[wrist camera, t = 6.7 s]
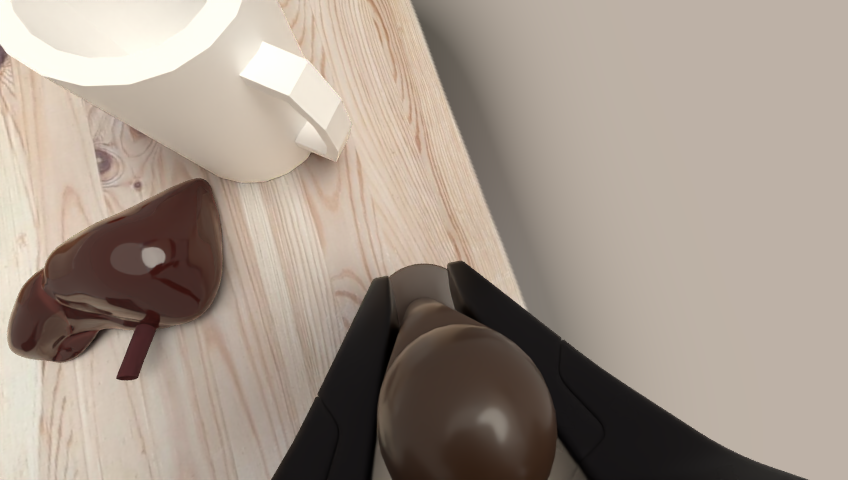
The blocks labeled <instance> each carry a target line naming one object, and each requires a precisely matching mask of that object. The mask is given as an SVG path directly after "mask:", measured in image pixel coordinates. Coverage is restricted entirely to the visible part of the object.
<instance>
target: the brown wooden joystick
mask: <svg viewBox="0 0 848 480" xmlns="http://www.w3.org/2000/svg"><path fill="white" fill-rule="evenodd" d="M389 278H390V281H391V285H392V289H393V293H394V297H395V302H396V307H397V313H398V319H399V326H400V330H399V333H398V336H397V339H396V342H395V346H394V349H393V352H392V355H391V358H390V361H389V364H388V367H387V370H386V373H385V377H384V380H383V383H382V386H381V389H380V393H379V398H378V405H377V436H378V441H379V446H380V452H381V454H382V457H383V460H384V462H385V465H386V467H387V470H388V472H389V474H390V476H391V478H392V480H548V478H549V476H550V472H551V469H552V465H553V462H554V458H555V453H556V443H557V421H556V412H555V409H554V405H553V401H552V398H551V394H550V392H549V389H548V387H547V385H546V383H545V380H544V378H543V376H542V374H541V372H540V371H539V369H538V368H537V367H536V365H535V364H534V362H533V361H532V360H531V358H530V357H529V356H528V355H527V354H526V353H525V352H524V351H523V350H522V349H521V348H520V347H519V346H518V345H517V344H515V343H514V342H513V341H511V340H510V339H509V338H507V337H506V336H504V335H502V334H501V333H499V332H497V331H495V330H493V329H491V328H489V327H487V326H485V325H483V324H481V323H479V322H477V321H475V320H473V319H471V318H469V317H467V316H465V315H463V314H462V313H460V312H458V311H456V310H455V308H454V304H453V300H452V297H451V293H450V288H449V280H448V270H447V269H446V268H443V267H441V266H437V265H433V264H414V265H411V266H407V267H405V268H402V269H400V270H398V271H397V272H395V273H394V274H392V275H391V276H390V277H389Z"/></svg>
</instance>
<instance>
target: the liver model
mask: <svg viewBox="0 0 848 480" xmlns="http://www.w3.org/2000/svg"><path fill="white" fill-rule="evenodd" d="M222 267H223V259H222V234H221V224H220V218H219V214H218V210H217V206H216V203H215V200H214V197H213V193H212V189H211V187H210V185H209V183H208V182H207V181H206V180H204V179H202V178H196V179H191V180H188V181H185V182H183V183H180V184H178V185H176V186H173V187H171V188H169V189H167V190H165V191H163V192H161V193H159V194H157V195H155V196H153V197H151V198H149V199H147V200H145V201H143V202H141V203H139V204H137V205H135V206H133V207H131V208H129V209H126V210H124V211H122V212H120V213H118V214H115V215H113V216H110V217H108V218H106V219H103V220H101V221H99V222H97V223H95V224H93V225H91V226H89V227H88V228H86V229H84V230H82V231H81V232H79V233H77V234H76V235H74V236H73V237H71V238H69V239H68V240H66V241H65V242H63V243H62V244H61V245H59V246H58V247H57V248H56V249H55V250H54V251H53V252H52V253H51V254H50V255H49V257H48V259H47V260H46V263H45V266H44V268H42V269H41V270H39V271H38V272H36V273H35V274H34V275H33V276H32V277H31V278H30V279H29V280H28V281H27V282H26V283H25V284H24V285H23V287H22V288H21V290H20V292H19V294H18V296H17V299H16V301H15V304H14V307H13V309H12V312H11V316H10V319H9V324H8V330H7V341H8V345H9V348H10V349H11V351H12V352H14V353H15V354H17V355H19V356H21V357H24V358H28V359H34V360H46V361H53V362H59V363H61V362H67V361H70V360H72V359H74V358H76V357H77V356H79V355H80V354H81V353H82V352H83V351H84V350H85V349H86V348H87V347H88V346H89V345H90V343H91V342H92V341H93V339H94V338H95V337H96V335H97V333H98V332H99V331H100V330H102V329H107V328H114V329H123V330H135V331H134V334H133V336H132V339H131V341H130V344H129V346H128V349H127V352H126V354H125V357H124V359H123V362H122V364H121V367H120V369H119V372H118V375H117V377H116V379H118V380H134V379H137V378H138V376H139V373H140V370H141V368H142V365H143V362H144V359H145V357H146V354H147V351H148V349H149V347H150V344H151V342H152V340H153V337H154V335H155V332H156V329H160V328H167V327H171V326H175V325H179V324H184V323H188V322H191V321H193V320H195V319H196V318H198V317H199V316H201V315H202V314H203V313H204V312H205V311H206V310H207V309H208V308H209V307H210V305H211V304H212V302H213V300H214V298H215V296H216V294H217V291H218V289H219V285H220V281H221V276H222Z"/></svg>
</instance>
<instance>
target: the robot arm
mask: <svg viewBox="0 0 848 480" xmlns="http://www.w3.org/2000/svg"><path fill="white" fill-rule="evenodd" d="M447 270H448V280H449V288H450V293H451V297H452V300H453V304H454V308H455V310H456V311H458V312H460V313H462V314H463V315H465V316H467V317H469V318H471V319H473V320H475V321H477V322H479V323H481V324H483V325H485V326H487V327H489V328H491V329H493V330H495V331H497V332H499V333H501V334H502V335H504V336H506V337H507V338H509V339H510V340H511V341H513V342H514V343H515V344H517V345H518V346H519V347H520V348H521V349H522V350H523V351H524V352H525V353H526V354H527V355H528V356H529V357H530V358H531V360H532V361H533V362H534V364H535V365H536V367H537V368H538V369H539V371H540V372H541V374H542V376H543V378H544V380H545V383H546V385H547V387H548V389H549V392H550V394H551V398H552V401H553V405H554V409H555V412H556V421H557V443H556V453H555V458H554V462H553V465H552V469H551V472H550V476H549V478H548V480H808V479H805V478H801V477H799V476H796V475H793V474H790V473H787V472H784V471H781V470H778V469H775V468H773V467H769V466H767V465H764V464H761V463H759V462H756V461H754V460H751V459H749V458H747V457H744V456H742V455H740V454H738V453H736V452H734V451H732V450H730V449H727V448H725V447H724V446H722V445H720V444H718V443H716V442H715V441H713V440H711V439H709V438H708V437H706V436H705V435H703V434H701V433H700V432H698V431H696V430H695V429H693V428H692V427H690V426H689V425H687V424H686V423H684V422H683V421H681V420H679V419H678V418H676V417H675V416H673V415H672V414H670V413H668V412H667V411H666V410H664V409H663V408H661V407H659V406H658V405H656V404H655V403H653V402H652V401H650V400H649V399H647V398H646V397H644V396H642V395H641V394H639V393H638V392H636V391H635V390H633V389H632V388H630V387H628V386H627V385H626V384H624V383H622V382H621V381H620V380H618V379H617V378H615V377H614V376H612V375H611V374H609V373H608V372H606V371H605V370H603V369H602V368H600V367H599V366H598V365H596V364H595V363H594V362H592V361H591V360H590V359H588V358H587V357H586V356H584V355H583V354H582V353H580V352H579V351H578V350H576V349H575V348H574V347H572V346H571V345H570V344H569V343H567V342H566V341H565V340H562V341H561V337H560V336H558V335H557V334H556V333H554V332H553V331H552V330H550V329H549V328H548V327H547V326H545V325H544V324H543V323H542V322H540V321H539V320H538V319H536V318H535V317H534V316H532V315H531V314H530V313H529V312H527V311H526V310H525V309H524V308H522V307H521V306H520V305H519V304H517V303H516V302H515V301H513V300H512V299H511V298H510V297H508V296H507V295H506V294H504V293H503V292H502V291H501V290H499V289H498V288H497V287H495V286H494V285H493V284H492V283H490V282H489V281H488V280H487V279H485V278H484V277H483V276H481V275H480V274H479V273H478V272H476V271H475V270H474V269H472V268H471V267H470V266H469V265H467V264H466V263H465V262H463V261H456V262H451V263H448V265H447ZM399 330H400V326H399V319H398V313H397V307H396V302H395V297H394V293H393V289H392V285H391V281H390V278H389V277H388V276H384V277H379V278H375V279H373V281H372V283H371V285H370V287H369V289H368V291H367V293H366V295H365V297H364V299H363V301H362V303H361V305H360V308H359V310H358V312H357V314H356V316H355V318H354V320H353V322H352V324H351V326H350V328H349V330H348V332H347V334H346V336H345V338H344V340H343V342H342V345H341V347H340V349H339V351H338V353H337V355H336V357H335V359H334V361H333V363H332V365H331V367H330V369H329V371H328V373H327V375H326V377H325V379H324V382H323V384H322V386H321V388H320V390H319V392H318V396H319V397H316V398H315V400H314V402H313V404H312V406H311V408H310V410H309V412H308V414H307V416H306V418H305V420H304V422H303V424H302V426H301V428H300V430H299V432H298V433H297V435H296V437H295V439H294V441H293V443H292V445H291V446H290V448H289V450H288V452H287V453H286V455H285V457H284V458H283V460H282V462H281V464H280V465H279V467H278V469H277V470H276V472H275V474H274V475H273V477H272V479H271V480H392V478H391V476H390V474H389V472H388V470H387V467H386V465H385V462H384V460H383V457H382V454H381V452H380V446H379V441H378V436H377V405H378V398H379V393H380V389H381V386H382V383H383V380H384V377H385V373H386V370H387V367H388V364H389V361H390V358H391V355H392V352H393V349H394V346H395V342H396V339H397V336H398V333H399Z"/></svg>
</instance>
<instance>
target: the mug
mask: <svg viewBox="0 0 848 480" xmlns="http://www.w3.org/2000/svg"><path fill="white" fill-rule="evenodd" d="M0 44H1V46H2V47H3V48H4V50H5V51H6V53H7V54H9V55H10V56H12V57H13V58H15V59H17V60H18V61H20V62H21V63H23V64H24V65H26V66H28V67H29V68H31V69H32V70H34V71H35V72H37V73H38V74H40V75H42V76H43V77H45V78H47V79H49V80H50V81H52V82H54V83H56V84H57V85H59V86H61V87H63V88H64V89H66V90H68V91H70V92H71V93H73V94H75V95H77V96H78V97H80V98H82V99H84V100H85V101H87V102H89V103H91V104H92V105H94V106H96V107H98V108H99V109H101V110H103V111H105V112H106V113H108V114H110V115H112V116H113V117H115V118H117V119H118V120H120V121H122V122H124V123H125V124H127V125H129V126H131V127H132V128H134V129H136V130H138V131H139V132H141V133H143V134H145V135H146V136H148V137H150V138H152V139H153V140H155V141H157V142H159V143H160V144H162V145H164V146H166V147H167V148H169V149H171V150H173V151H174V152H176V153H178V154H180V155H181V156H183V157H185V158H187V159H188V160H190V161H192V162H194V163H195V164H197V165H199V166H201V167H202V168H204V169H206V170H208V171H209V172H211V173H213V174H215V175H216V176H218V177H220V178H224V179H228V180H232V181H236V182H240V183H253V182H266V181H269V180H272V179H275V178H277V177H280V176H283V175H286V174H288V173H289V172H291V171H292V170H293V169H295V168H296V167H297V166H299V165H300V164H301V163H303V162H304V161H306V159H307V158H308V156H309V155H310V154H311V152H313V153H315V154H318V155H320V156H322V157H325V158H327V159H330V160H332V161H334V162H337V160H338V158H339V156H340V154H341V152H342V150H343V148H344V146H345V144H346V142H347V140H348V138H349V134H350V131H351V127H352V122H351V120H350V118H349V115H348V113H347V111H346V108H345V106H344V104H343V101H342V99H341V98H340V96H339V95H338V94H337V93H336V92H335V91H334V89H333V88H332V87H331V86H330V85H329V84H328V82H327V81H326V80H325V79H324V78H323V77H322V75H321V74H320V73H319V72H318V71H317V70H316V68H315V67H314V66H313V65H312V64H311V62H310V61H309V60H307V59H305V57H304V55H303V53H302V51H301V49H300V46H299V44H298V42H297V40H296V38H295V36H294V34H293V31H292V29H291V27H290V25H289V23H288V21H287V19H286V17H285V14H284V12H283V10H282V8H281V6H280V4H279V2H278V0H0Z"/></svg>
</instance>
